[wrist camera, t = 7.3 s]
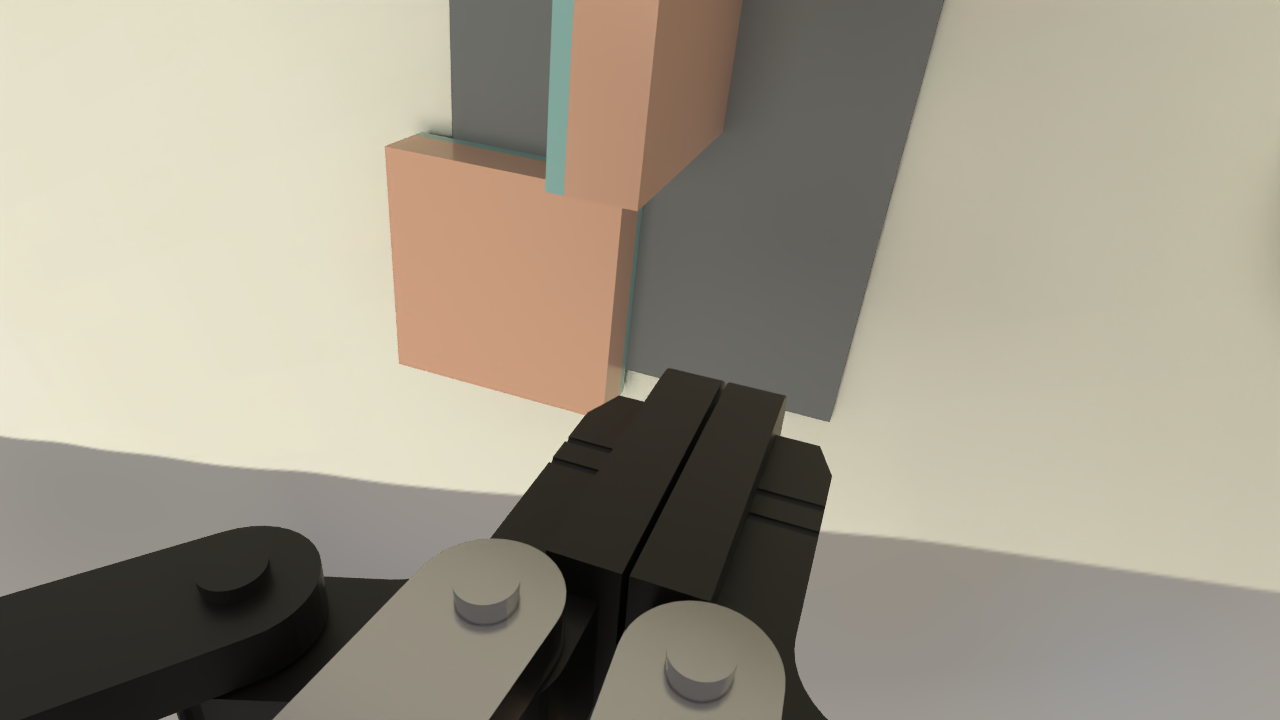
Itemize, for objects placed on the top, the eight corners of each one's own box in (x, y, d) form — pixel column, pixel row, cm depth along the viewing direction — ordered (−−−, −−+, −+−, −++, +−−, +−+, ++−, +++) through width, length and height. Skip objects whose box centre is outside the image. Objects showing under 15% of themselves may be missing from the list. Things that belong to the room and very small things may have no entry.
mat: (978, -131, 21) (979, -132, 21) (830, 416, 30) (829, 422, 30) (451, -182, 25) (445, -183, 24) (461, 321, 34) (456, 325, 33)
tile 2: (623, 195, 26) (384, 146, 28) (602, 419, 30) (398, 363, 32) (645, 176, 28) (422, 132, 30) (623, 389, 32) (430, 338, 34)
